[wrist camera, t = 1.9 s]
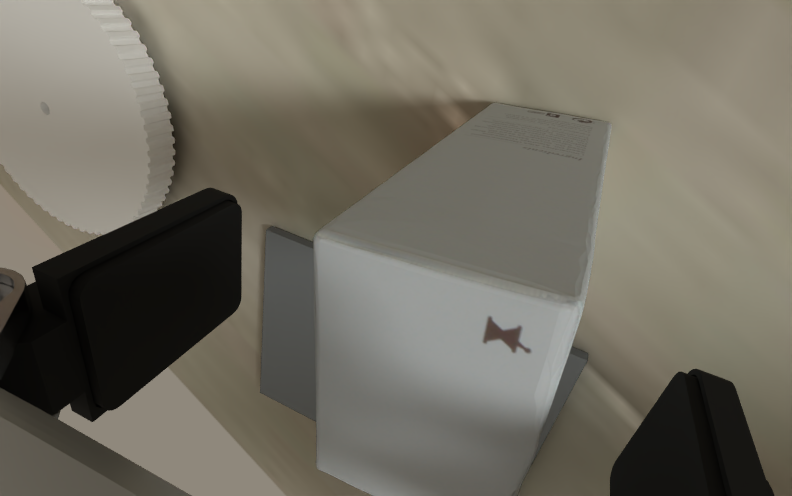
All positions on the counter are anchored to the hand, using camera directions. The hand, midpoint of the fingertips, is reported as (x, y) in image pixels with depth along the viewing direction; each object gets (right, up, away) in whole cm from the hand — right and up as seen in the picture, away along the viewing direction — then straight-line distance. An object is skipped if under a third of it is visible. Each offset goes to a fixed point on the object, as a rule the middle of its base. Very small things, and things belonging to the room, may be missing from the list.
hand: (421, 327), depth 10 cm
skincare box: (+5, +4, +8) cm, 10 cm away
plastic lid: (-17, +10, +16) cm, 26 cm away
